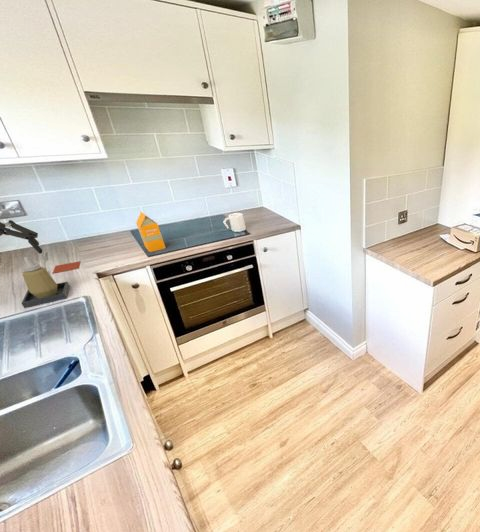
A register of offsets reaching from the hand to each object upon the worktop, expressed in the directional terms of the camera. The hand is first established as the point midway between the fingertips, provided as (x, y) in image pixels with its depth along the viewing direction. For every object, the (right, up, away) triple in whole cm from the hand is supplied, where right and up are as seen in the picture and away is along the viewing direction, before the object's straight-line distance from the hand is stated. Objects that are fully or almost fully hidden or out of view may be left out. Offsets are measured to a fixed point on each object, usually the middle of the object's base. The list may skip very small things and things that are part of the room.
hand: (19, 258), depth 129 cm
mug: (+48, +20, +77) cm, 93 cm away
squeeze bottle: (+7, -16, +5) cm, 18 cm away
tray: (+7, -16, +5) cm, 18 cm away
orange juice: (+17, +7, +50) cm, 53 cm away
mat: (-9, -4, +27) cm, 29 cm away
